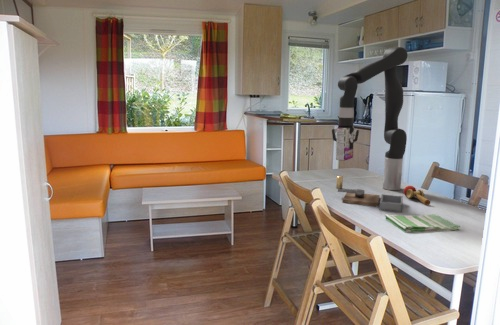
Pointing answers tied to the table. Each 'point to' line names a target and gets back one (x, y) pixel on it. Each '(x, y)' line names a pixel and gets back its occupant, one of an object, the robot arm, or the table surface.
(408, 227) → the dish towel
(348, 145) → the candy bar box
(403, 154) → the robot arm
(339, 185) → the crank
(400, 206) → the tray
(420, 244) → the table surface
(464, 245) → the table surface
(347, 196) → the crank base
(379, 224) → the table surface
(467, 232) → the table surface
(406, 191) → the kendama
